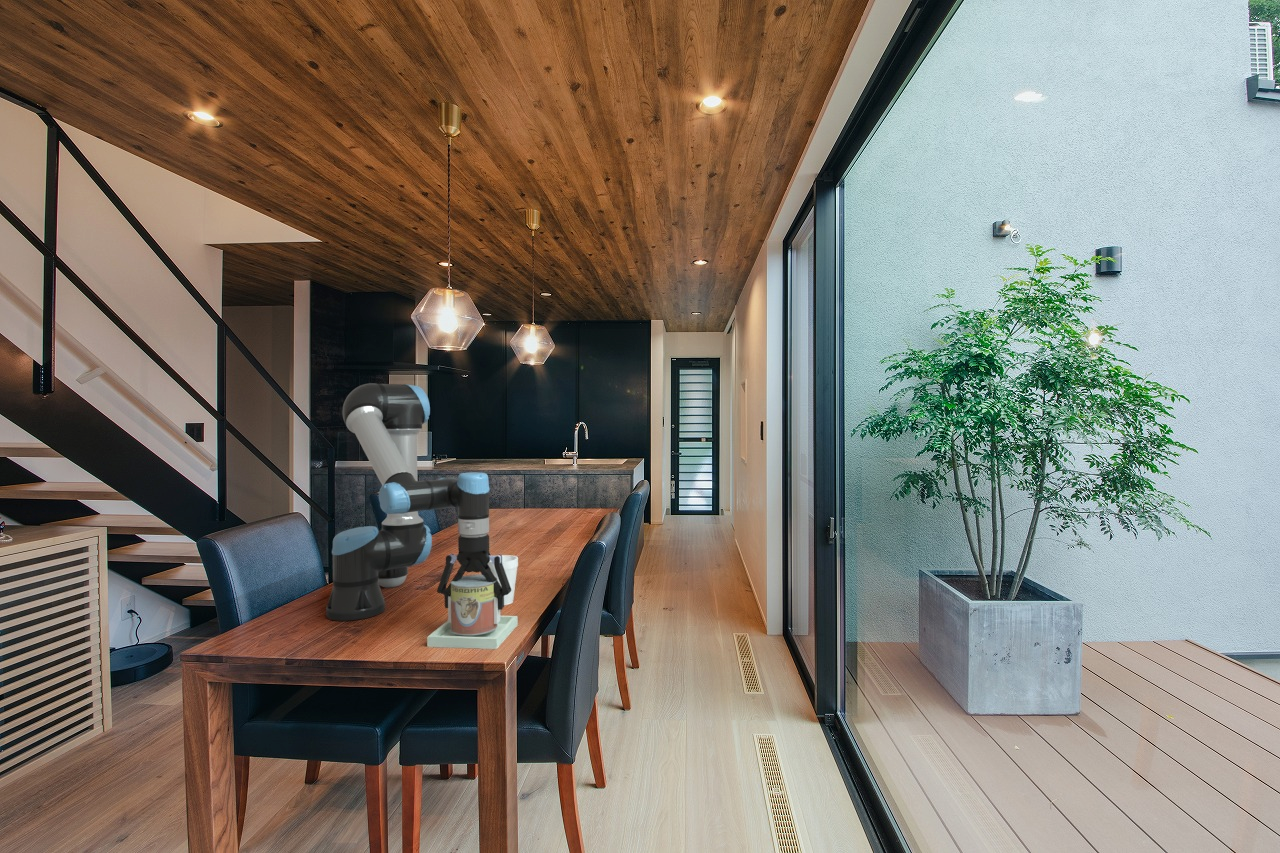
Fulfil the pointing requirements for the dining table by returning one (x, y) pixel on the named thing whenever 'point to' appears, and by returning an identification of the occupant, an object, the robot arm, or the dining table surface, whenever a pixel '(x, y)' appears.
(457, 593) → the canned food
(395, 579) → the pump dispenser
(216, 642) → the dining table surface
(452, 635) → the tray
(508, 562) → the foam cup
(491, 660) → the dining table surface
